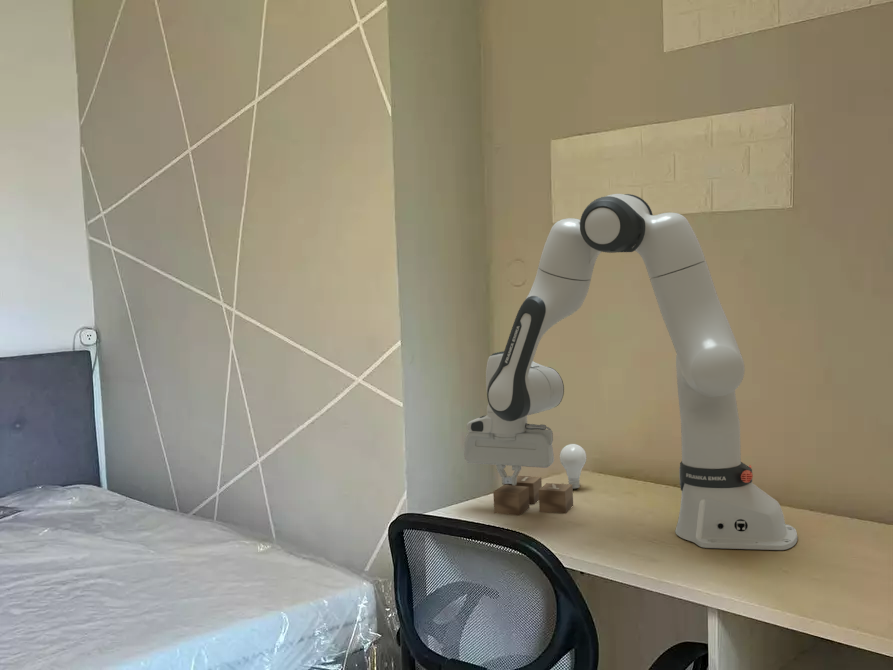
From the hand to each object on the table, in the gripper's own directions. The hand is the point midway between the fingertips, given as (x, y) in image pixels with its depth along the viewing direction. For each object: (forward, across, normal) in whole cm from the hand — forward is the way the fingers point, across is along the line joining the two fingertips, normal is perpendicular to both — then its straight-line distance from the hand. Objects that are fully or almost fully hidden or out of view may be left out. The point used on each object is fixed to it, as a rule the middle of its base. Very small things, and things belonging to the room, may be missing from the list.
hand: (509, 484), depth 196 cm
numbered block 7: (+6, -9, -4) cm, 12 cm away
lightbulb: (+6, -8, -21) cm, 24 cm away
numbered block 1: (+6, 0, -9) cm, 11 cm away
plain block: (+6, 0, 0) cm, 6 cm away
